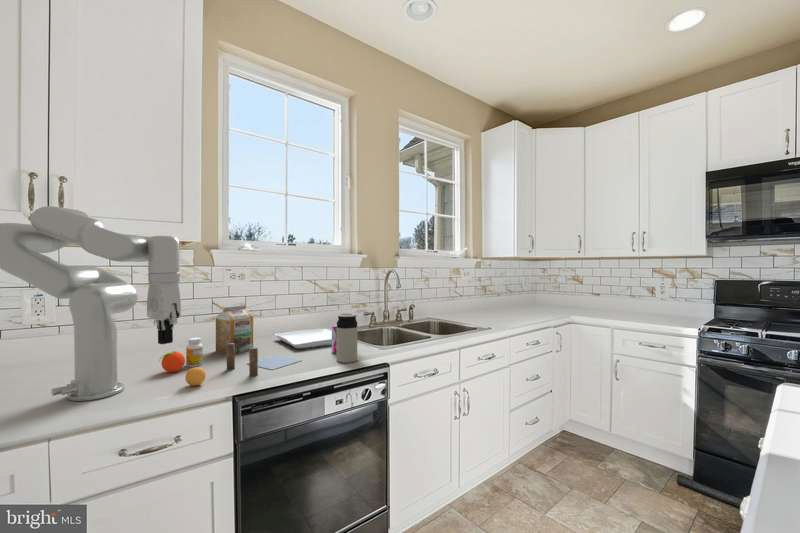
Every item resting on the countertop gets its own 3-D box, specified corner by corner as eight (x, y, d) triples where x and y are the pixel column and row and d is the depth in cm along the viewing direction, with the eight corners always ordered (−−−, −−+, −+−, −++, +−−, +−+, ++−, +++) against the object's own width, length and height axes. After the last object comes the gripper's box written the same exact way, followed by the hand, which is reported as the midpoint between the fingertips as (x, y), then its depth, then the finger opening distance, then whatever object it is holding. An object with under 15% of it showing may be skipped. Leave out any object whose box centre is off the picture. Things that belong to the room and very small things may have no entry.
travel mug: (339, 364, 137) (339, 316, 136) (334, 358, 144) (334, 313, 144) (359, 362, 140) (359, 315, 139) (354, 357, 147) (354, 312, 147)
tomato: (163, 377, 121) (163, 355, 120) (154, 373, 125) (154, 352, 124) (188, 371, 127) (188, 350, 127) (179, 367, 131) (179, 347, 131)
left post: (229, 370, 128) (229, 344, 128) (225, 369, 129) (225, 344, 129) (236, 368, 130) (236, 343, 130) (231, 367, 132) (231, 342, 131)
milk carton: (230, 355, 149) (230, 308, 148) (215, 351, 155) (215, 306, 154) (253, 349, 158) (253, 305, 157) (238, 346, 163) (238, 304, 163)
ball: (191, 389, 109) (191, 371, 109) (181, 386, 112) (181, 368, 112) (209, 384, 114) (209, 366, 114) (199, 381, 117) (199, 364, 117)
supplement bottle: (184, 364, 135) (184, 338, 134) (200, 362, 138) (200, 336, 138) (188, 368, 131) (188, 340, 131) (204, 365, 135) (204, 338, 134)
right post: (252, 376, 121) (252, 349, 121) (247, 375, 123) (247, 348, 123) (259, 374, 124) (259, 348, 123) (254, 373, 125) (254, 347, 125)
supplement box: (331, 353, 152) (331, 326, 152) (337, 350, 158) (338, 323, 158) (343, 354, 150) (343, 327, 150) (350, 351, 156) (350, 324, 156)
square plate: (294, 352, 155) (294, 343, 155) (273, 341, 177) (273, 333, 177) (350, 344, 171) (350, 336, 171) (325, 334, 193) (325, 327, 193)
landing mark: (272, 370, 129) (272, 369, 129) (246, 364, 136) (246, 363, 136) (301, 360, 141) (301, 360, 141) (277, 355, 148) (277, 355, 148)
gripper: (137, 279, 105) (138, 342, 106) (163, 280, 97) (165, 349, 98) (164, 278, 112) (165, 338, 112) (192, 279, 104) (193, 343, 104)
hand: (165, 343), depth 105 cm, fingers closed
